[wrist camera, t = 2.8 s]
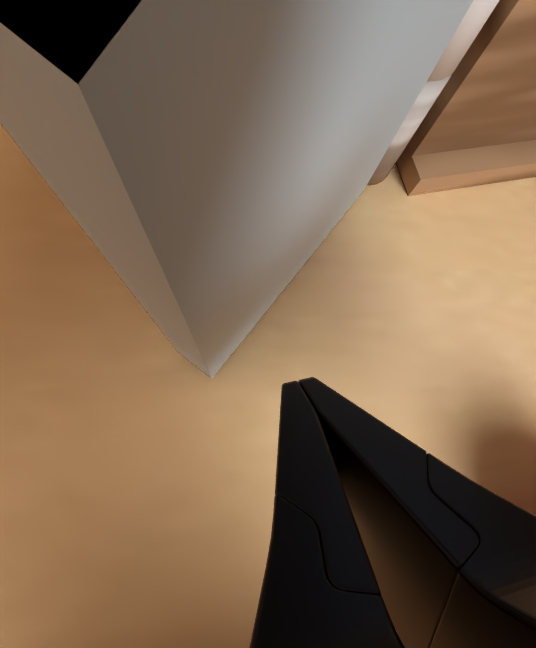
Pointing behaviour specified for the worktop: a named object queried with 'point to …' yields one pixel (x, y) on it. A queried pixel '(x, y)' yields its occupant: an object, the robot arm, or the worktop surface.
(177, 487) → the worktop surface
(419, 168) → the hinge frame
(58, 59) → the hinged leaf
